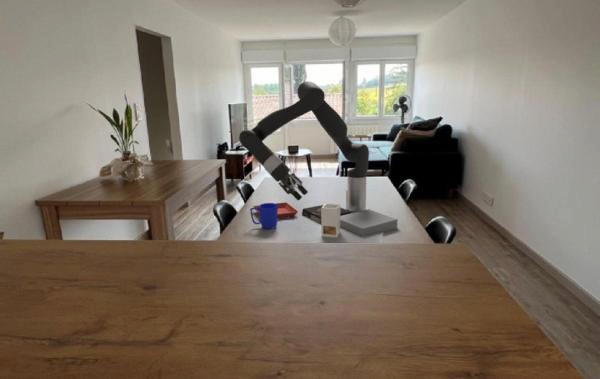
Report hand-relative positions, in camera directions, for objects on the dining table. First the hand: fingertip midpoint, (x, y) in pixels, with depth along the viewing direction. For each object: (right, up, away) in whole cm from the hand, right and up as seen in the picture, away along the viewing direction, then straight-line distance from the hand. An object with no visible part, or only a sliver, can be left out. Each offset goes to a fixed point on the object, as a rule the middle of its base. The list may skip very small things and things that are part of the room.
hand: (303, 196), depth 153 cm
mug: (-17, -14, +13) cm, 26 cm away
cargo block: (+11, -16, 0) cm, 19 cm away
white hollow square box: (+11, -17, +1) cm, 20 cm away
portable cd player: (+11, -11, +25) cm, 29 cm away
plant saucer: (-14, -10, +31) cm, 36 cm away
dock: (+27, -14, +10) cm, 32 cm away
